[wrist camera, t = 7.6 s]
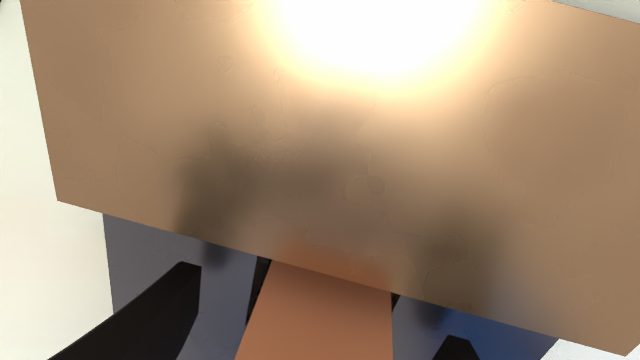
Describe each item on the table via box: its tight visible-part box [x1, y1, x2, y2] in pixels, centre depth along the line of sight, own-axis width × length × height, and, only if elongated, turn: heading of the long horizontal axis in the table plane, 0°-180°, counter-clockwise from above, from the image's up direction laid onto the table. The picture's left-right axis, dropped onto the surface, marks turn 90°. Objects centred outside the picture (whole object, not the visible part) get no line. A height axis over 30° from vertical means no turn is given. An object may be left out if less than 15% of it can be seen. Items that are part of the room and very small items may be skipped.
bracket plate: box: [20, 0, 640, 360], centre depth 12 cm, size 18×14×5 cm
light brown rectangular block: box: [234, 260, 393, 360], centre depth 11 cm, size 3×3×7 cm
